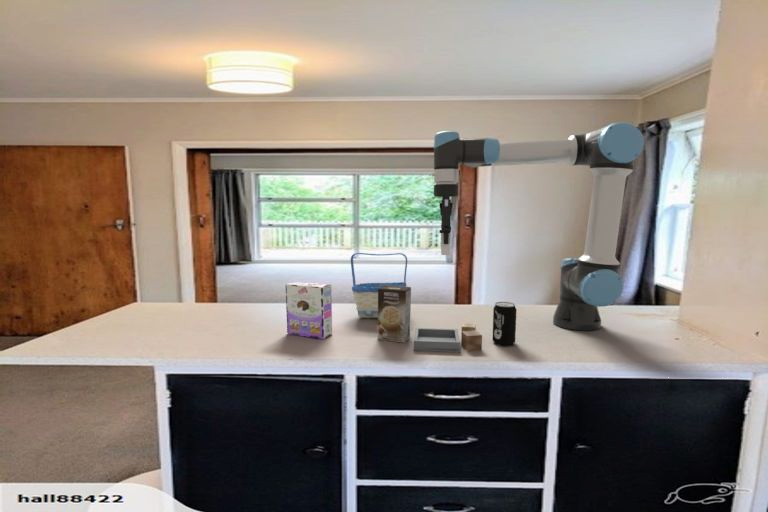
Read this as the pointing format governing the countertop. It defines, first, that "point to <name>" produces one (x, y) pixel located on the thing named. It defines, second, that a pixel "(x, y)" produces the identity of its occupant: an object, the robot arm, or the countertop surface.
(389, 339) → the coffee box
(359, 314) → the basket
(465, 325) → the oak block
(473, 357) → the countertop surface
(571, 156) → the robot arm
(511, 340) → the beverage can
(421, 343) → the tray
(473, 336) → the walnut block
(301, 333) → the candy box
